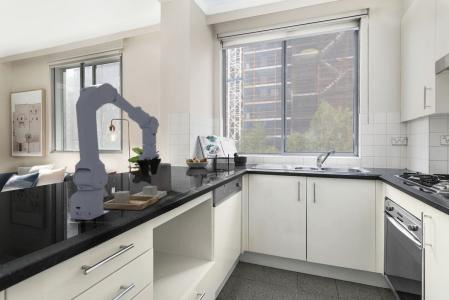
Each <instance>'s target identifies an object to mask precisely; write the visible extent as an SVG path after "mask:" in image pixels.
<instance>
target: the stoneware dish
mask: <svg viewBox="0 0 449 300" xmlns="http://www.w3.org/2000/svg"><path fill="white" fill-rule="evenodd" d="M131 195H132V196H148V195H143V190H142V191H140V192H138V193H135V194H131ZM167 195H168V192H167V191H157V195H155V196H158V200H160V199H162V198H164V197H165V196H167Z"/></svg>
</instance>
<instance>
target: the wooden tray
mask: <svg viewBox="0 0 449 300" xmlns="http://www.w3.org/2000/svg"><path fill="white" fill-rule="evenodd" d="M132 195H133V194H130V203H128V204H117V203H114V199H110V200H108V201H105V202H103V206H104V209H113V210H133V211H142V210H143V209H145V208H147V207H149V206H150V205H153V204H154V203H157V202H158V201H159V199H158V196H132Z"/></svg>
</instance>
